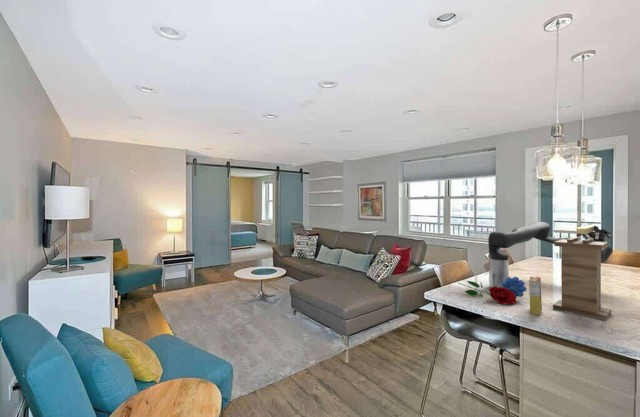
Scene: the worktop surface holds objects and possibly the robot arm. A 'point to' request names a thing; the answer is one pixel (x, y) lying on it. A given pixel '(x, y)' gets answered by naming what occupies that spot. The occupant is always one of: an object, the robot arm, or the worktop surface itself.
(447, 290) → the worktop surface
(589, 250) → the walnut post
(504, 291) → the flower
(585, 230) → the bar
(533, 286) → the candy box
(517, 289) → the grapes
